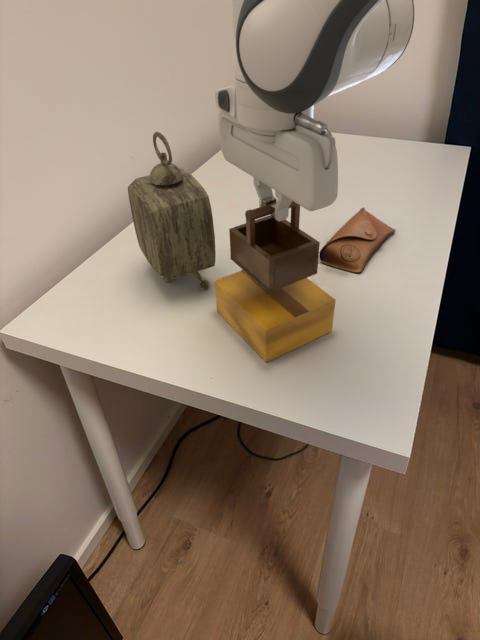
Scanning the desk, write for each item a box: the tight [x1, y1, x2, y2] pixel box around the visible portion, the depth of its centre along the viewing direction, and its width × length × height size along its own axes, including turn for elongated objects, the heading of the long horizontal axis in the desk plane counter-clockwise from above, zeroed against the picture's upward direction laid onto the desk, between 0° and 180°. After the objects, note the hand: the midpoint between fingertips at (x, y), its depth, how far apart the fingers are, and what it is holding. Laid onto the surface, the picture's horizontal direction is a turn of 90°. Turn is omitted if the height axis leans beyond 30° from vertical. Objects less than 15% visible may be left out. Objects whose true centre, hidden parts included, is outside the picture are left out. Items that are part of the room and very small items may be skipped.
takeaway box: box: [214, 268, 336, 363], centre depth 73 cm, size 14×12×6 cm
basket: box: [228, 201, 321, 293], centre depth 66 cm, size 10×8×10 cm
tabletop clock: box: [127, 131, 216, 290], centre depth 77 cm, size 14×9×25 cm, turn 27°
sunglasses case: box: [318, 207, 396, 274], centre depth 90 cm, size 18×7×7 cm, turn 147°
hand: (273, 214), depth 64 cm, fingers closed on basket
